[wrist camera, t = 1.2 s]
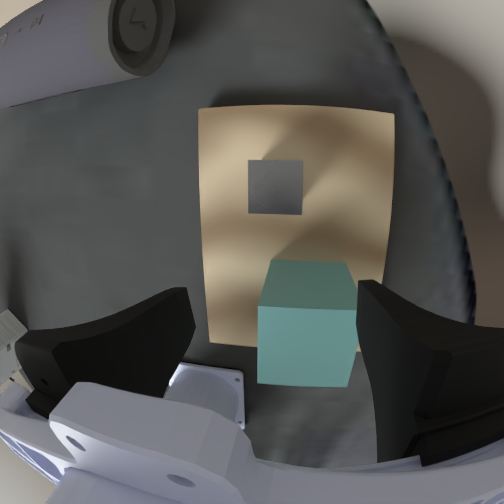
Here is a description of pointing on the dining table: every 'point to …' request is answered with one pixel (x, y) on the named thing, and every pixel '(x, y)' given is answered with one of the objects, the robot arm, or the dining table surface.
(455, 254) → the dining table surface
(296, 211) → the post
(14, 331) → the skincare box
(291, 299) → the teal foam brick
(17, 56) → the bluetooth speaker
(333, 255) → the base board
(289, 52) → the dining table surface
